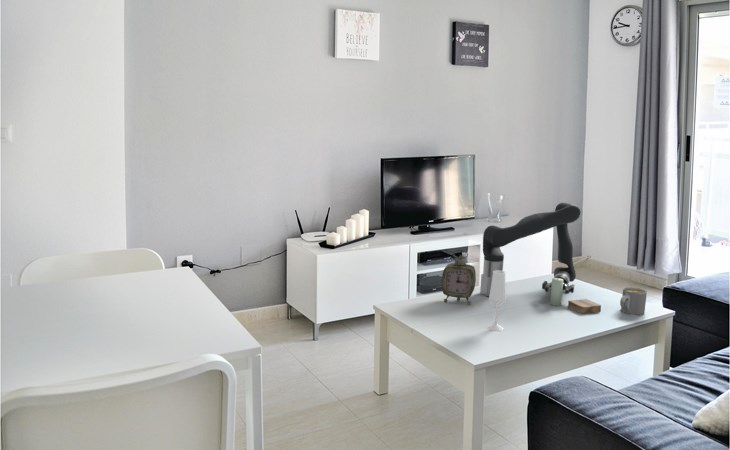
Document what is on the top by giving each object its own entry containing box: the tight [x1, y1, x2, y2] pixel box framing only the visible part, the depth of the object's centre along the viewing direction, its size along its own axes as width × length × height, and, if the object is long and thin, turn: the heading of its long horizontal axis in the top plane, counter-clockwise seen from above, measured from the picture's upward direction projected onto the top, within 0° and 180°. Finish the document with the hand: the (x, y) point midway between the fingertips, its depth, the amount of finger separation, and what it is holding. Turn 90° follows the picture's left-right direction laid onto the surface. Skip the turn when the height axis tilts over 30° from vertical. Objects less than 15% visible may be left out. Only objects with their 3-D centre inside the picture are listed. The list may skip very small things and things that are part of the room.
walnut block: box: [567, 298, 602, 315], centre depth 301 cm, size 10×10×3 cm
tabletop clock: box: [441, 248, 477, 306], centre depth 305 cm, size 14×9×25 cm, turn 73°
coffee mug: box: [619, 286, 648, 316], centre depth 299 cm, size 13×10×10 cm
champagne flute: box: [486, 270, 507, 332], centre depth 271 cm, size 7×7×24 cm
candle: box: [549, 277, 563, 307], centre depth 306 cm, size 5×5×13 cm
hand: (556, 290), depth 305 cm, fingers open, 8 cm apart
